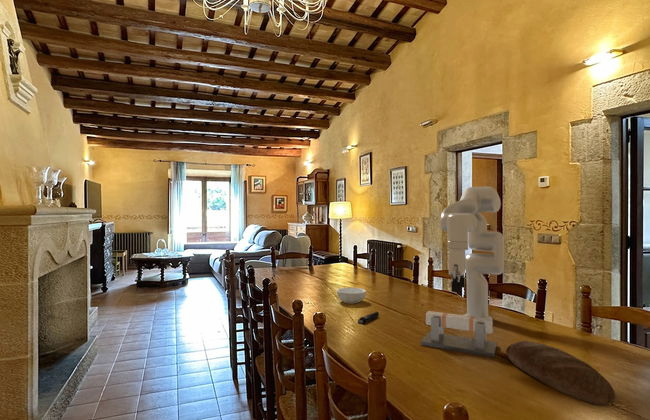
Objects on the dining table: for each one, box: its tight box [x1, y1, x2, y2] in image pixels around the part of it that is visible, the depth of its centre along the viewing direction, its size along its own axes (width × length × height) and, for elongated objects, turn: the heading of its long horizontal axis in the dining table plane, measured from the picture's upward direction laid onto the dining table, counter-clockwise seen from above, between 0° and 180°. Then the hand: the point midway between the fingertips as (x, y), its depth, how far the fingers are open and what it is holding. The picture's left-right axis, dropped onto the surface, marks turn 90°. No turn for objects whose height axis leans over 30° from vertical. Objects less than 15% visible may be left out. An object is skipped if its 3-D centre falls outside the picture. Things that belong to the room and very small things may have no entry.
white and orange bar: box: [425, 310, 494, 335], centre depth 142 cm, size 24×5×5 cm, turn 61°
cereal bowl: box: [336, 287, 367, 305], centre depth 211 cm, size 17×17×7 cm
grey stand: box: [420, 317, 498, 359], centre depth 141 cm, size 13×26×10 cm, turn 61°
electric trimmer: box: [357, 311, 380, 325], centre depth 176 cm, size 4×16×3 cm, turn 141°
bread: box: [505, 340, 616, 406], centre depth 114 cm, size 16×36×8 cm, turn 11°
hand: (458, 289), depth 142 cm, fingers open, 9 cm apart
